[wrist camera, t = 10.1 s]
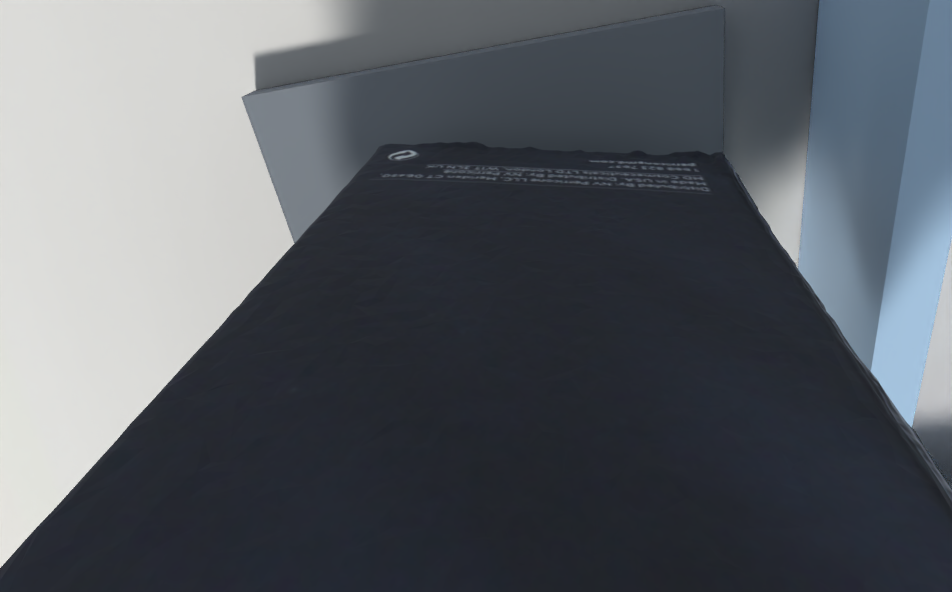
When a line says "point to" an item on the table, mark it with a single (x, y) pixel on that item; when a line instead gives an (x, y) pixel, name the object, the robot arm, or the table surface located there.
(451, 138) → the mat
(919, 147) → the bin
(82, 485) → the small box
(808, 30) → the table surface
